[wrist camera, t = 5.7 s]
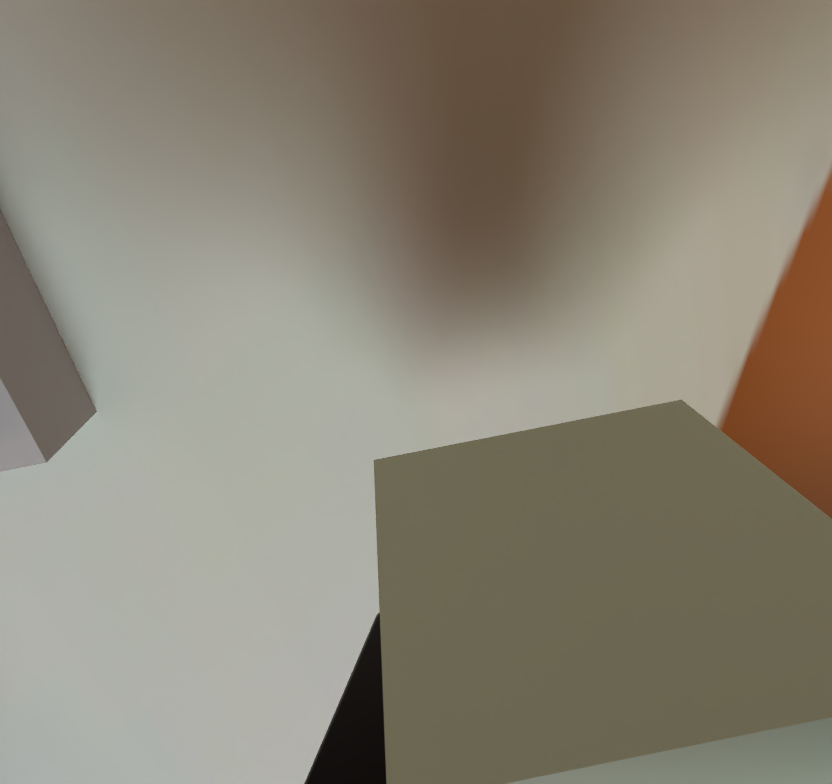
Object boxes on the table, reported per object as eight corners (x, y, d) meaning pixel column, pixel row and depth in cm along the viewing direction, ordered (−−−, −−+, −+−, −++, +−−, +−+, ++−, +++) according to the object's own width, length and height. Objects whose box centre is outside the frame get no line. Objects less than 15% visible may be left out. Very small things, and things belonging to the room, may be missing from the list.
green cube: (425, 672, 11) (471, 1058, 6) (373, 460, 9) (386, 808, 4) (672, 623, 11) (897, 969, 6) (681, 399, 9) (1030, 677, 4)
